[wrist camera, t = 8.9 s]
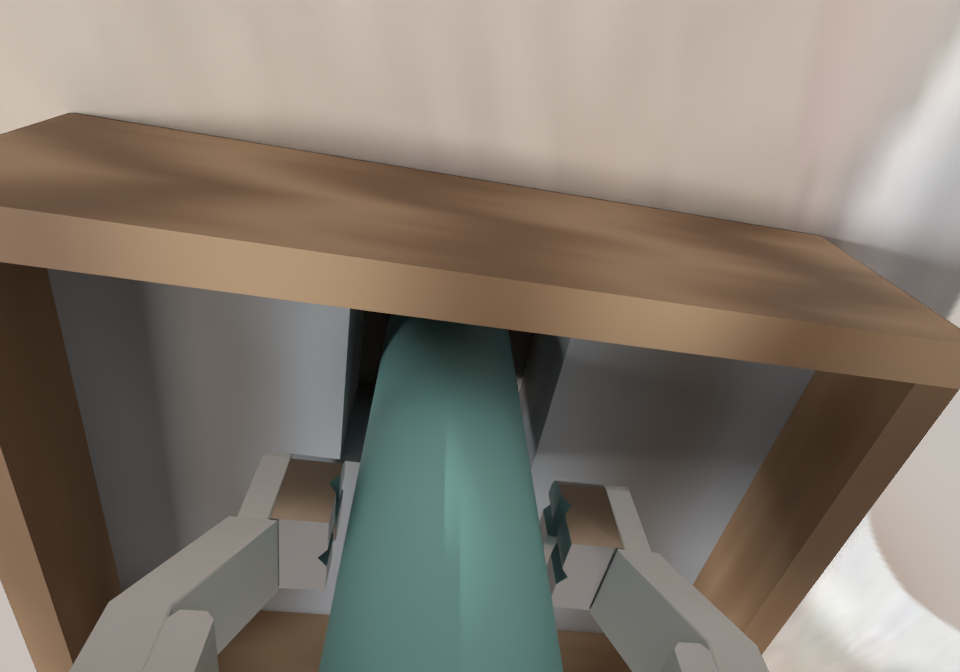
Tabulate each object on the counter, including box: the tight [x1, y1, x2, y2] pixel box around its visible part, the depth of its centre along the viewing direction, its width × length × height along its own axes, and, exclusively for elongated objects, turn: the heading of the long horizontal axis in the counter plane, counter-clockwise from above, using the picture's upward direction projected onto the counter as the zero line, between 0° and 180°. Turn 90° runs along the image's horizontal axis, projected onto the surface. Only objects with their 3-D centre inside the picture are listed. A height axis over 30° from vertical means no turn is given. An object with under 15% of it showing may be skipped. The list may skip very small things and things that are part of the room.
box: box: [0, 113, 960, 672], centre depth 16 cm, size 20×15×6 cm
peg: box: [318, 314, 563, 672], centre depth 12 cm, size 4×4×12 cm
